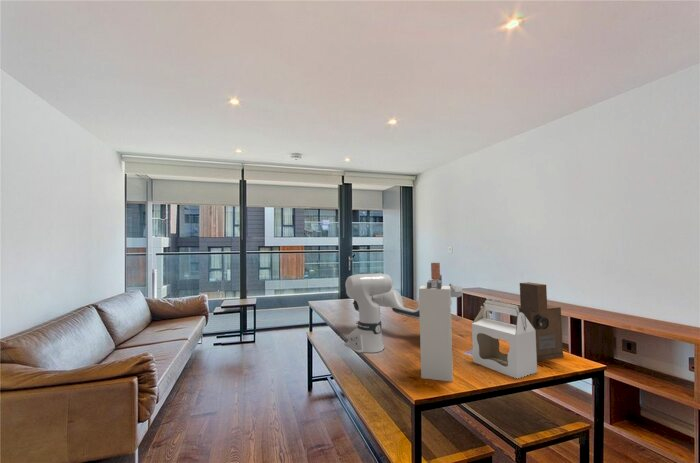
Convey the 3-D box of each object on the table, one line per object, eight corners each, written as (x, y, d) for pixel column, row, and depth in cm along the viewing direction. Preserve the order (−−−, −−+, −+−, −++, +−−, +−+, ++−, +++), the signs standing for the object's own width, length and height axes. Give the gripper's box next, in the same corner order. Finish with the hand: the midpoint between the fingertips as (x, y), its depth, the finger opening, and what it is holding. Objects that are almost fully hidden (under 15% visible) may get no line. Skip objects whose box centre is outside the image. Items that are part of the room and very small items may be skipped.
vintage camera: (539, 365, 138) (535, 285, 140) (513, 355, 152) (510, 282, 154) (571, 360, 144) (568, 283, 146) (544, 350, 158) (541, 280, 159)
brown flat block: (434, 280, 155) (433, 261, 155) (441, 281, 154) (441, 261, 154) (429, 288, 130) (429, 264, 130) (438, 288, 129) (438, 264, 129)
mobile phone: (494, 349, 158) (476, 356, 150) (494, 351, 158) (476, 358, 150) (480, 346, 164) (462, 351, 156) (480, 347, 164) (462, 353, 156)
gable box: (472, 361, 144) (470, 300, 146) (491, 356, 150) (489, 297, 152) (518, 379, 125) (515, 308, 126) (538, 372, 131) (535, 304, 132)
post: (423, 368, 137) (421, 279, 139) (452, 371, 133) (449, 280, 135) (421, 378, 128) (418, 282, 129) (452, 381, 124) (449, 283, 125)
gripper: (463, 301, 166) (463, 291, 155) (423, 300, 173) (420, 290, 162) (462, 290, 170) (462, 279, 159) (423, 289, 176) (421, 279, 165)
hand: (441, 285), depth 160 cm, fingers open, 8 cm apart
